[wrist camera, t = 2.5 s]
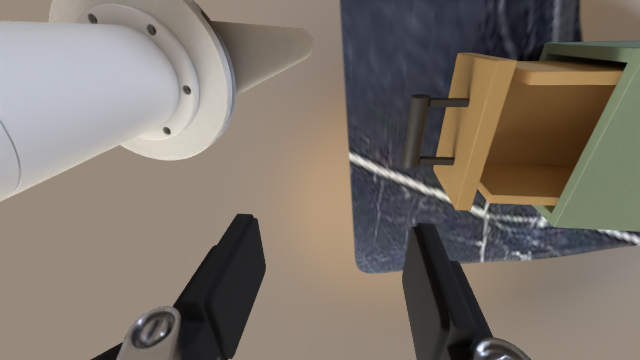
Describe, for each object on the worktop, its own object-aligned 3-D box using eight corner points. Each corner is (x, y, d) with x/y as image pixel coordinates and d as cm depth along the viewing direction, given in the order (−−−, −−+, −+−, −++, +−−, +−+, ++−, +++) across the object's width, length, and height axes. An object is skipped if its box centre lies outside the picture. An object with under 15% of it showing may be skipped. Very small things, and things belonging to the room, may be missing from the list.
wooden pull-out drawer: (392, 169, 29) (402, 207, 22) (406, 53, 23) (425, 61, 17) (570, 174, 27) (637, 218, 20) (633, 49, 21) (753, 56, 15)
